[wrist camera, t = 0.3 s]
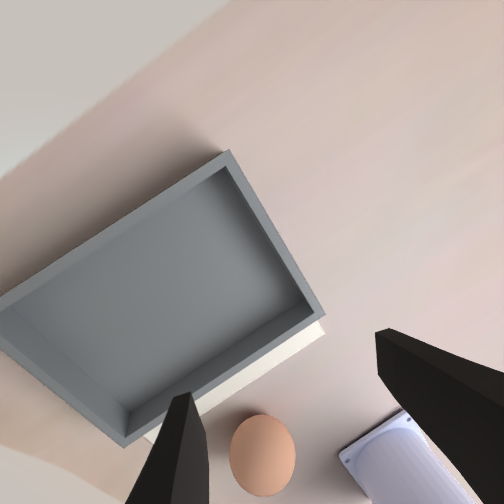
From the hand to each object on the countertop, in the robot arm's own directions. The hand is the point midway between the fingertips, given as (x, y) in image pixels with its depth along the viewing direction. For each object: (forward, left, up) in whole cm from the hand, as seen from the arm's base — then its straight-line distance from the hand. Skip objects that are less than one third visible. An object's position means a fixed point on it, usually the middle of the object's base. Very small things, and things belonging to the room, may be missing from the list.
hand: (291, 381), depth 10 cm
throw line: (-7, +5, -10) cm, 13 cm away
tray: (+2, +5, -10) cm, 11 cm away
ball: (-12, +6, -7) cm, 15 cm away
